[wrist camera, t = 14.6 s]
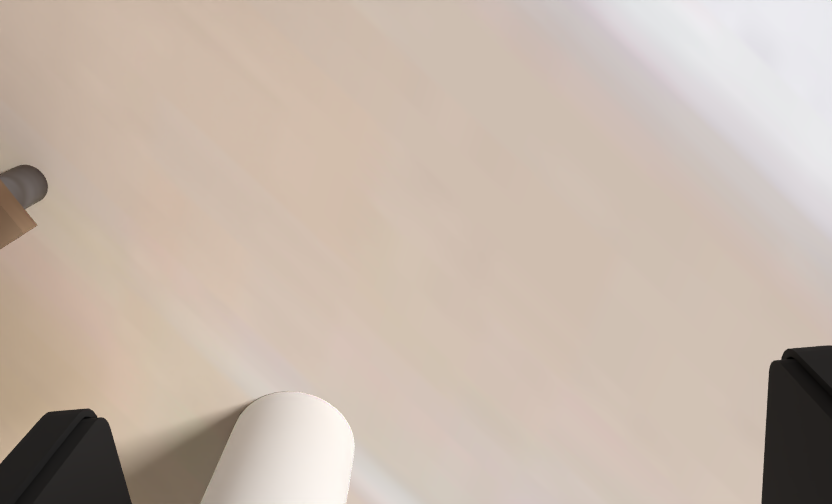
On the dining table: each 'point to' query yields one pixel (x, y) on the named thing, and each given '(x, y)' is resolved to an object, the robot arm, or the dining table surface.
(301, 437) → the cylindrical container
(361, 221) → the dining table surface
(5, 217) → the walnut shelf
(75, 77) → the dining table surface
